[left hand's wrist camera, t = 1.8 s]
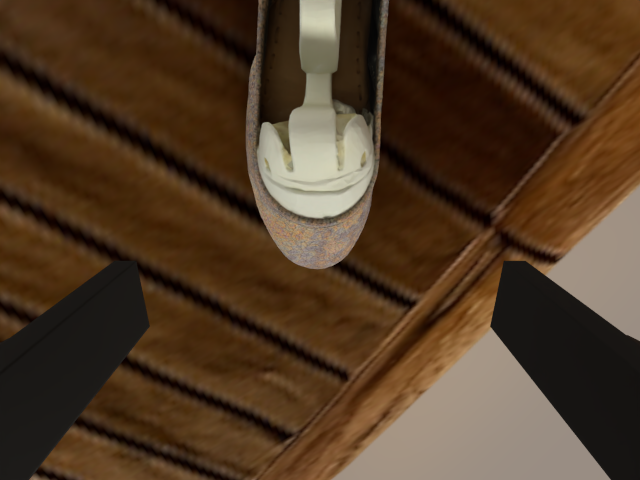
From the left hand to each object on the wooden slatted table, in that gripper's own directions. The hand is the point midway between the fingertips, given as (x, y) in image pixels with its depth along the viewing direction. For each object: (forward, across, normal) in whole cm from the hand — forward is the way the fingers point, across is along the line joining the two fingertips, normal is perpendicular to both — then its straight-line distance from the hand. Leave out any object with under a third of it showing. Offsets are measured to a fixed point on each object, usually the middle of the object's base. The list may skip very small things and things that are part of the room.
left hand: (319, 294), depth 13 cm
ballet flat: (+13, 0, -8) cm, 15 cm away
